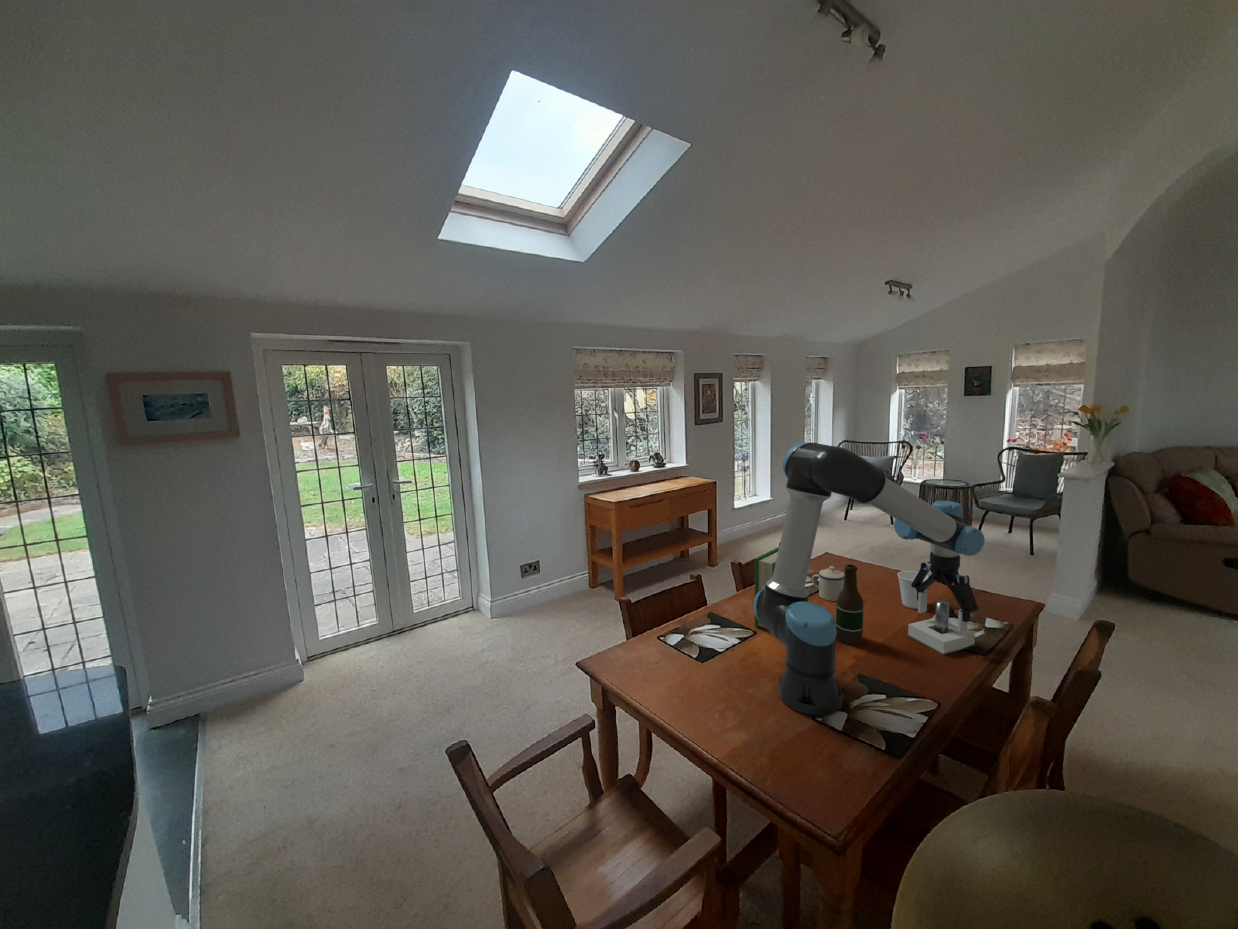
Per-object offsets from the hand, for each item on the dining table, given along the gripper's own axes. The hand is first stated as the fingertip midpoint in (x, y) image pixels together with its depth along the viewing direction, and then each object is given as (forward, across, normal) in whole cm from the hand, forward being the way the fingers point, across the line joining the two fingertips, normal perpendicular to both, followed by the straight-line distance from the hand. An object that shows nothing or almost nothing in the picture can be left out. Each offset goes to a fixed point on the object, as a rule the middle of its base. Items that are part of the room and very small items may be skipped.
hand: (941, 621), depth 149 cm
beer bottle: (+7, +11, +24) cm, 27 cm away
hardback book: (+7, +29, +37) cm, 48 cm away
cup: (+7, +22, -13) cm, 26 cm away
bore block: (+7, 0, 0) cm, 7 cm away
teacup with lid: (+7, +40, +8) cm, 41 cm away
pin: (+6, 0, 0) cm, 6 cm away
